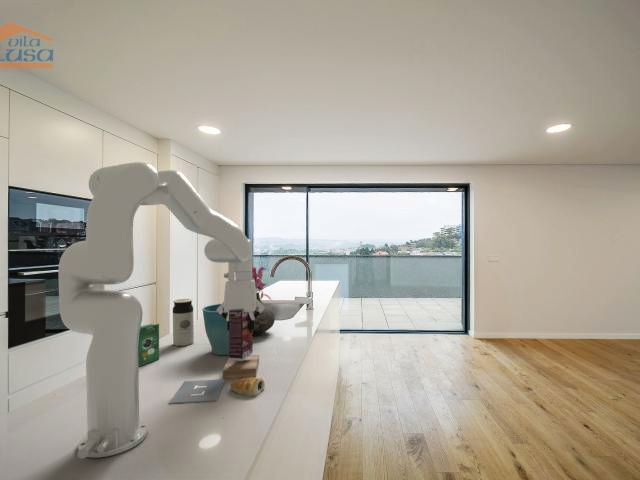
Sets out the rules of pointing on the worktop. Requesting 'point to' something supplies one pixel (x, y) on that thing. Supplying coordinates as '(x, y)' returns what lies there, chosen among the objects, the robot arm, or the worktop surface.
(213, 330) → the flower pot
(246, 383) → the pastry
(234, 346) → the supplement box
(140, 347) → the coffee box
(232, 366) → the light tan stand
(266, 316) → the vase
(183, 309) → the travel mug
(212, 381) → the gray card
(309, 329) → the worktop surface
